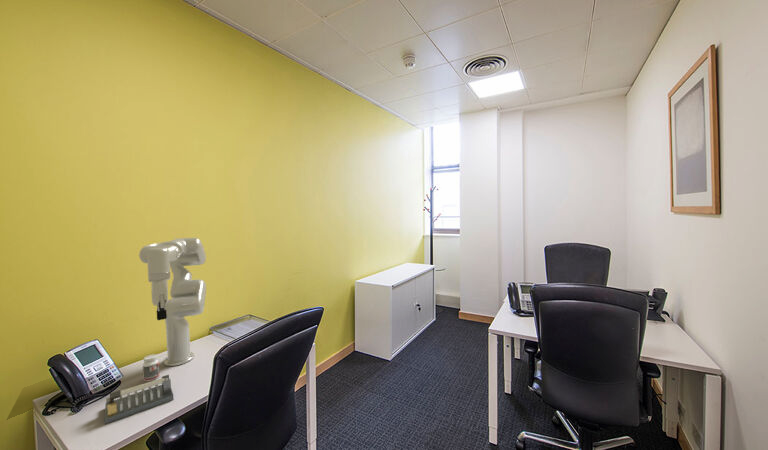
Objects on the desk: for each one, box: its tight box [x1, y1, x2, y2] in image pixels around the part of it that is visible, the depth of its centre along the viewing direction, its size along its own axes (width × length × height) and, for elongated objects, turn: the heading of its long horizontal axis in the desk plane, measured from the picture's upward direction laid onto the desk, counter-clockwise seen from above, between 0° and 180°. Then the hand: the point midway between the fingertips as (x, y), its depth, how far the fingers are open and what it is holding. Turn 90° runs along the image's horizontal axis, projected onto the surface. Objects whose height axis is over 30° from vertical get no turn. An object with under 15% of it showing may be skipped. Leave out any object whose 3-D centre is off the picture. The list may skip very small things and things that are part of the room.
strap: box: [109, 377, 168, 400], centre depth 117 cm, size 18×4×1 cm, turn 132°
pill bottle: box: [142, 353, 160, 382], centre depth 135 cm, size 6×6×10 cm
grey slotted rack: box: [104, 374, 174, 425], centre depth 117 cm, size 12×20×7 cm, turn 132°
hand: (161, 319), depth 129 cm, fingers closed
